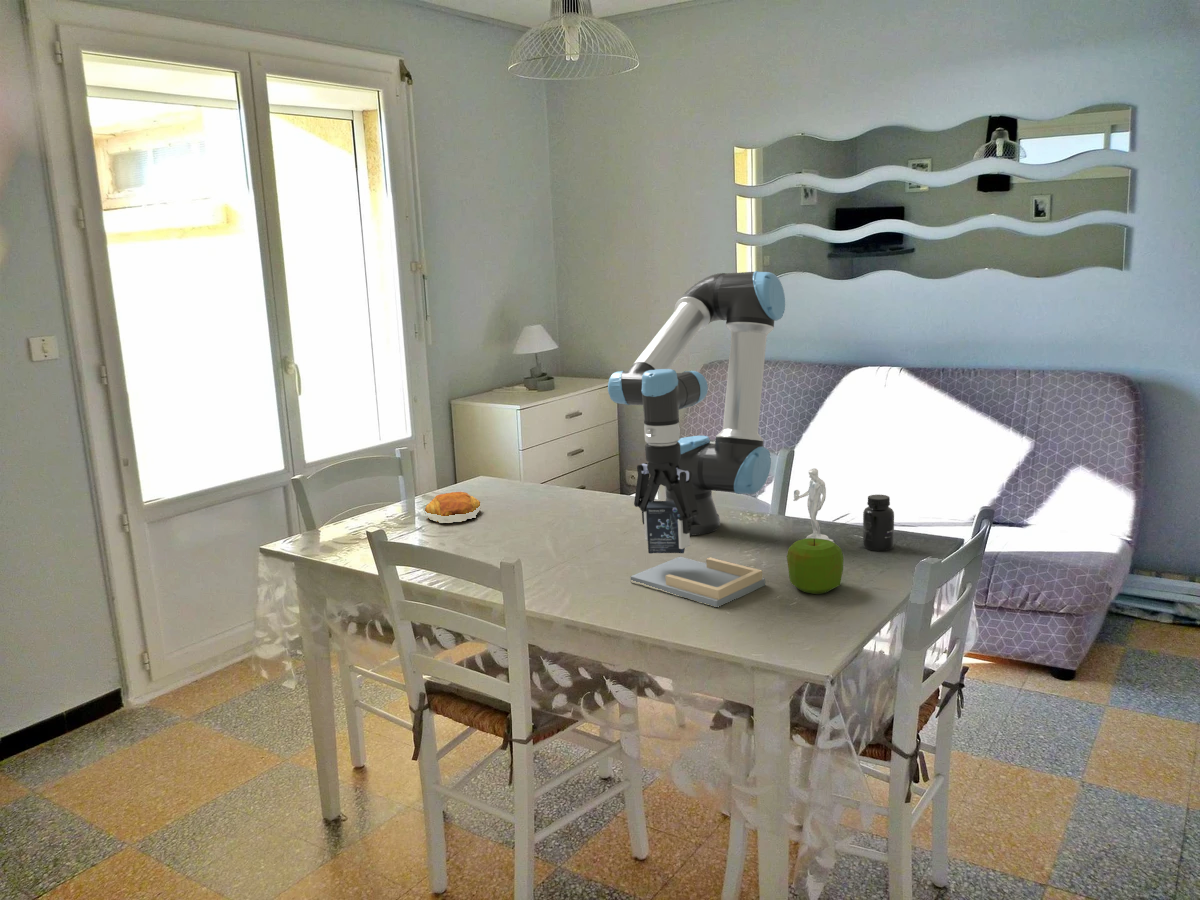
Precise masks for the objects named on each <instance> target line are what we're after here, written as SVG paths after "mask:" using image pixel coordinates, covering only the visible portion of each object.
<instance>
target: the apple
mask: <svg viewBox="0 0 1200 900" xmlns="http://www.w3.org/2000/svg"><path fill="white" fill-rule="evenodd" d="M834 542H835V541H834ZM834 542H832V541H829V540H825V539H817V538H806V539H805V538H801V539H798V540H795V541H794V542H793V543H791V545H790V546H789V547H788V550H787V554H786V562H787V570H788V575H789V576H788V577H789V581H790V583H791V585H792V586H794V587H796V588H797V589H798V590H800V591H801V592H804V593H807V594H813V595H819V594H820V595H821V594H825V593H828V592H829V591H831V590H834V589H835V588H837V587H839V586H840V585H841V584H842V583H841V582H842V577H843V576H842V575H843V572H844V554H843V551H842V548H841V547H840V546H839V545H837V544H836V542H835V543H834Z"/></svg>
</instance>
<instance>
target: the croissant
mask: <svg viewBox="0 0 1200 900" xmlns="http://www.w3.org/2000/svg"><path fill="white" fill-rule="evenodd" d="M480 503H481V501H480V500H478V499H477V498H476V497H474V496H473V495H470V494H469V493H468V492H465V491H452V492H448V493H441V494H437V495H435V496H434V498H433V499H432V500H431V501H429V503H428V504H427V505H426V506H425V508H424V512H425V511H426V512H427V513H431V514H437V515H441V516H449V515H455V514H466V513H469V512H473V511H474V510H476V508H478V507H479V506H480Z"/></svg>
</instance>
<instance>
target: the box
mask: <svg viewBox="0 0 1200 900" xmlns="http://www.w3.org/2000/svg"><path fill="white" fill-rule="evenodd" d="M646 510H647V533H648V541H647V549H648V551H647V553H648V554H684V553H685V550H686V548H683V549H679V536H678V519H679V518H681V517H680V515H679V512H678V510H677V508H676V505H675V503H674V501H666V500H654V501H649V502H648V505H647V508H646Z"/></svg>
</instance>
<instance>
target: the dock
mask: <svg viewBox="0 0 1200 900" xmlns="http://www.w3.org/2000/svg"><path fill="white" fill-rule="evenodd" d="M631 580H633V581H636V582H640V583H644V584H646V585H649V586H652V587H655V588H658V589H662V590H664V591H667V592H670V593H673V594H676V595H679V596H682V597H685V598H689V599H692V600H695V601H698V602H702V603H706V604H709V605H712V606H715V607H718V606H720V605H723V604H725V603H727V602H729V603H731V602H733V601H735V600H737V599H739V598H742V597H744V596H745V595H748V594H750V593H752V592H754V591H755V590H758V589H760V588H762V587H765V586H766V578H764V577H763V570H762V569H759V568H758V569H757V568H755V567H750V566H745V565H742V564H738V563H734V562H729V561H726V560H723V559H722V560H721V559H717V558H714V557H711V556H710V557H708V558H706V559H705V562H702V561H698V560H695V559H690V558H688V557H683V556H678V557H675V558H672V559H670V560H668V561H665V562H663V563H660V564H657V565H655V566H652V567H650V568H647V569H645V570H643V571H640V572H638V573H636V574H633V575H631V576H630V581H631ZM736 598H737V599H736ZM734 599H735V600H734ZM732 600H733V601H732ZM730 601H731V602H730ZM727 604H728V603H727ZM725 605H726V604H725ZM723 606H724V605H723ZM720 607H721V606H720ZM718 608H719V607H718Z"/></svg>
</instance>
